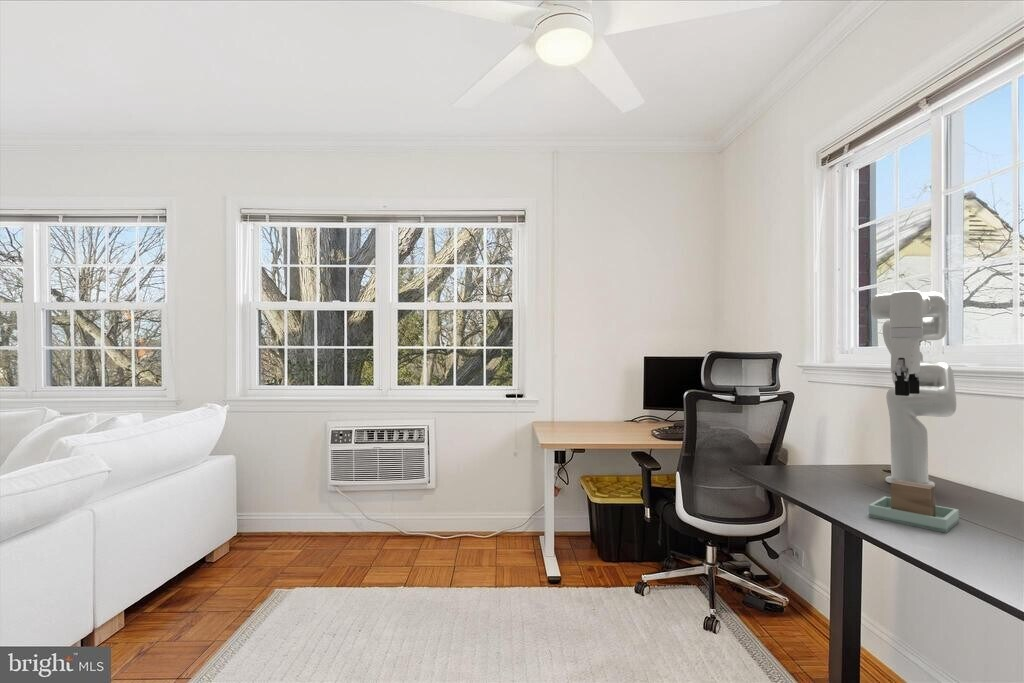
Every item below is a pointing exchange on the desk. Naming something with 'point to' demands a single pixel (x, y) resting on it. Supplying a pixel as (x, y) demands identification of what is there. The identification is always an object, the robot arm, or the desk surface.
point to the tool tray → (915, 516)
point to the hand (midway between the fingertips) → (907, 394)
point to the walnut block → (913, 497)
